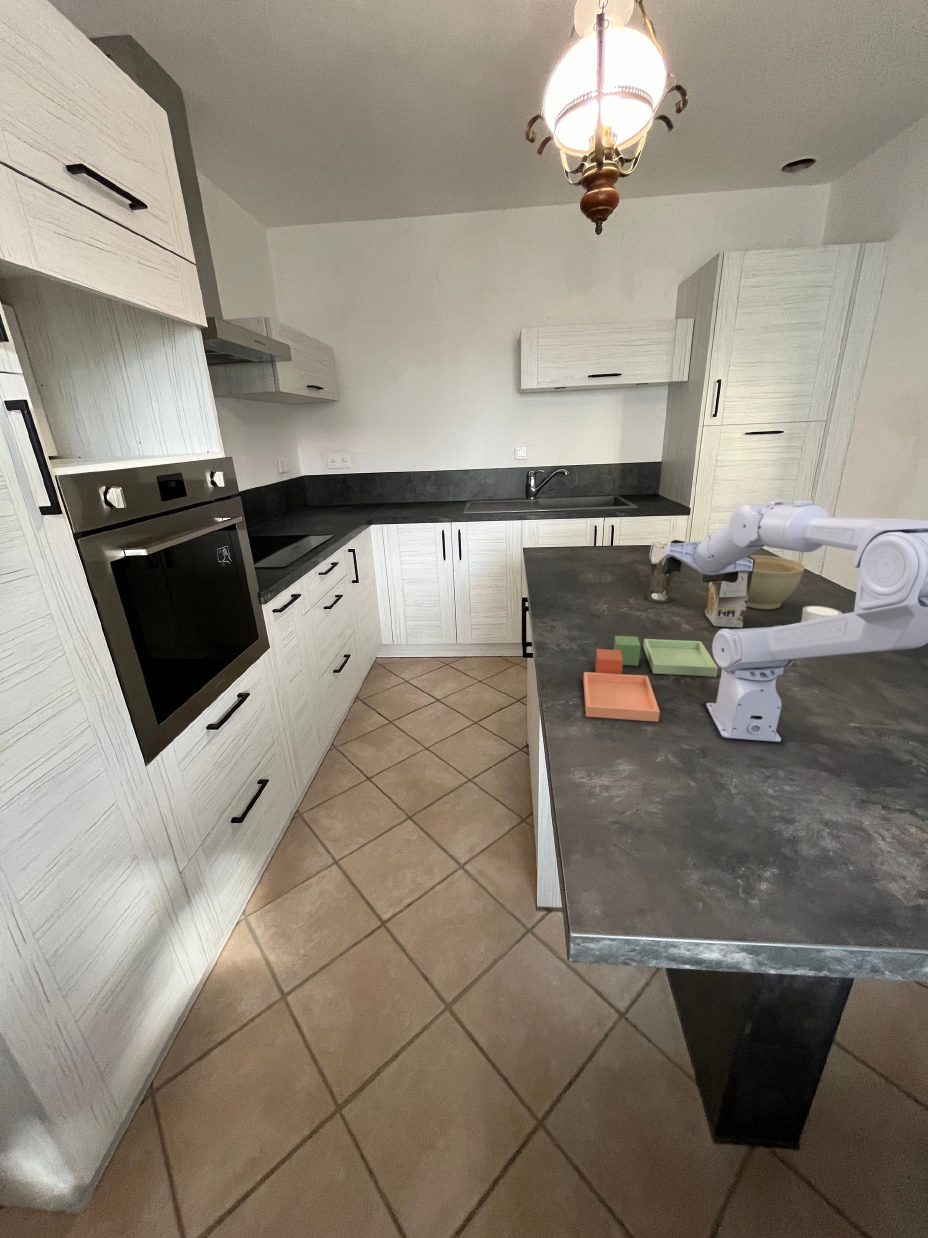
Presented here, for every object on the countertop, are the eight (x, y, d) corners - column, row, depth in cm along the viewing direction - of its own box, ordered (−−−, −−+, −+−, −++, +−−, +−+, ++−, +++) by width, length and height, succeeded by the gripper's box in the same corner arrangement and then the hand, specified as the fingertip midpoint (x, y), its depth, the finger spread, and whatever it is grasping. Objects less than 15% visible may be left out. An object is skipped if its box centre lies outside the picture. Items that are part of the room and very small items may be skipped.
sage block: (638, 665, 95) (640, 645, 94) (615, 664, 96) (617, 644, 95) (635, 656, 99) (637, 636, 98) (613, 655, 100) (614, 635, 99)
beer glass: (639, 597, 133) (644, 543, 128) (658, 593, 136) (664, 540, 131) (658, 604, 128) (665, 548, 122) (678, 600, 130) (685, 545, 125)
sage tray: (716, 676, 90) (718, 667, 89) (652, 673, 92) (653, 664, 92) (699, 649, 101) (701, 641, 101) (643, 647, 103) (644, 638, 103)
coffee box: (744, 628, 111) (756, 559, 105) (713, 626, 112) (724, 558, 107) (731, 614, 119) (743, 549, 114) (703, 613, 121) (713, 549, 115)
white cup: (797, 645, 102) (804, 613, 99) (794, 633, 107) (801, 603, 105) (837, 650, 99) (846, 618, 96) (832, 638, 104) (840, 607, 102)
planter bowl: (714, 593, 134) (721, 555, 130) (778, 594, 132) (786, 555, 128) (736, 614, 119) (743, 571, 115) (808, 615, 117) (818, 571, 113)
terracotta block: (621, 681, 90) (623, 660, 88) (596, 680, 90) (598, 658, 89) (618, 670, 94) (620, 650, 92) (595, 669, 94) (596, 648, 93)
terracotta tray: (658, 721, 77) (659, 711, 76) (585, 716, 79) (586, 706, 78) (646, 684, 88) (647, 675, 87) (583, 681, 90) (583, 672, 90)
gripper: (771, 533, 79) (724, 560, 92) (683, 515, 79) (649, 545, 92) (768, 574, 77) (721, 596, 90) (678, 556, 77) (644, 580, 91)
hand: (684, 572), depth 91 cm, fingers open, 7 cm apart
